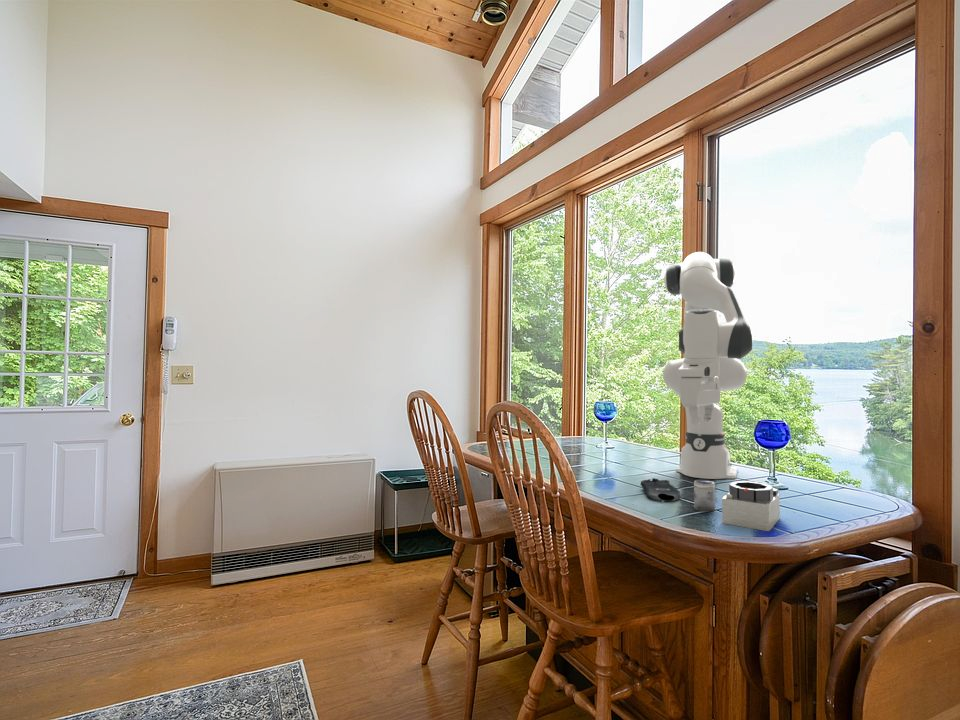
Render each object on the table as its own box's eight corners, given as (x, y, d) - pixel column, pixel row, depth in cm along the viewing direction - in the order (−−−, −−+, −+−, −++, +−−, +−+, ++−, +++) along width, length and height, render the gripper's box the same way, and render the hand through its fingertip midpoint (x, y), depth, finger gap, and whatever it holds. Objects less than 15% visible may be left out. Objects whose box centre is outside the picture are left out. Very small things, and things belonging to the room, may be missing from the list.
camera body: (736, 510, 137) (735, 476, 137) (780, 517, 131) (779, 482, 131) (722, 523, 127) (721, 486, 127) (769, 531, 121) (768, 492, 121)
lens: (697, 505, 143) (697, 478, 143) (717, 508, 140) (717, 480, 140) (691, 509, 139) (691, 481, 139) (711, 512, 136) (711, 484, 136)
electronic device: (637, 494, 161) (649, 500, 147) (639, 476, 162) (651, 480, 147) (668, 499, 161) (684, 505, 146) (670, 480, 161) (686, 485, 147)
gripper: (702, 369, 150) (702, 419, 150) (675, 370, 134) (675, 425, 134) (726, 369, 146) (726, 420, 146) (700, 370, 130) (701, 427, 130)
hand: (702, 422), depth 140 cm, fingers open, 8 cm apart
